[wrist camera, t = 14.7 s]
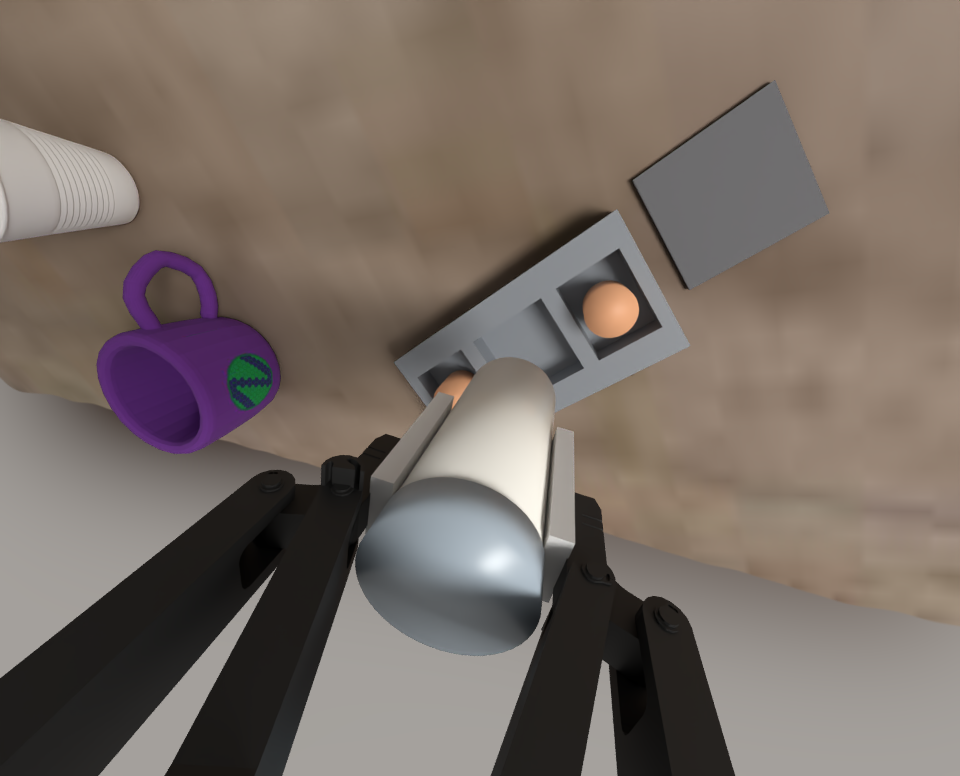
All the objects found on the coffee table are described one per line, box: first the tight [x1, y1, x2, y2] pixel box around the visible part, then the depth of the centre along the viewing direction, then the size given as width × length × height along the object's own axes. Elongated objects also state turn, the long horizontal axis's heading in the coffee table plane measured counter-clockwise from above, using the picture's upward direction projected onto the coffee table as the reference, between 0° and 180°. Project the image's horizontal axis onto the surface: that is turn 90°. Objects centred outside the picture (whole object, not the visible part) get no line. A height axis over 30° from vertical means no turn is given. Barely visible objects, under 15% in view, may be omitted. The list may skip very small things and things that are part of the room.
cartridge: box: [355, 357, 556, 656], centre depth 16 cm, size 5×5×12 cm
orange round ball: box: [434, 370, 474, 409], centre depth 32 cm, size 4×4×3 cm
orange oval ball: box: [582, 280, 639, 338], centre depth 27 cm, size 4×4×3 cm
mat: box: [632, 80, 829, 290], centre depth 25 cm, size 9×9×1 cm
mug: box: [97, 250, 281, 454], centre depth 35 cm, size 17×11×10 cm, turn 0°
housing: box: [394, 210, 690, 412], centre depth 31 cm, size 21×11×3 cm, turn 125°
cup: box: [0, 118, 139, 242], centre depth 31 cm, size 10×10×11 cm
